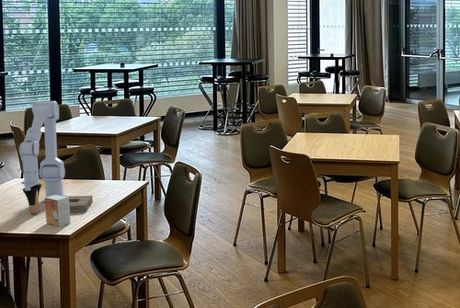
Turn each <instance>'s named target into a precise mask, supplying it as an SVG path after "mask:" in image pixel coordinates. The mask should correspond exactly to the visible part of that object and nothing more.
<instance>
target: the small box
mask: <svg viewBox="0 0 460 308" xmlns="http://www.w3.org/2000/svg"><path fill="white" fill-rule="evenodd" d="M44 200H45V202H44V209H45V220H46V221H45V222H46V224H48V225H53V226H55V225H56V226H55V227H58V226H60V227H63V226H66V224H67V225H69V224H71V213H70V208H69V197H63V196H59V195H53V196H49V197H46V196H45V197H44Z"/></svg>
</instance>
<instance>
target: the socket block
mask: <svg viewBox="0 0 460 308" xmlns="http://www.w3.org/2000/svg"><path fill="white" fill-rule="evenodd" d="M63 197H69V208H70V214H72V213H75V214H76V213H86V212H88V210H89V208H90V207H91V206H92V204H93V203H94V202H93V195H66V196H63Z"/></svg>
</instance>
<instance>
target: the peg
mask: <svg viewBox="0 0 460 308" xmlns="http://www.w3.org/2000/svg"><path fill="white" fill-rule="evenodd" d="M28 212H29V213H30V214H37V213H39V212H40V200H39V197H38V190H37V193H36V201H35V205H29V204H28Z"/></svg>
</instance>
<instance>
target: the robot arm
mask: <svg viewBox="0 0 460 308" xmlns="http://www.w3.org/2000/svg"><path fill="white" fill-rule="evenodd" d="M31 111H32V114H33V119H32V124H31V127H29V128H28V129H27V132H26V133H25V134H26V135H25V137H24V140H23V142H21V143H20V144H19V146H18V153H19V155H20V159H21V161H22V170H23V181H22V182H21V185H24V188H22V192H23V193H24V195H25V197H26V199H27V202H28V203H27V204H28V206H29V205H35V201H36V193H37V190H38V198H39V196H40V191H41V188H42V183H41V182H40V179H41V180H42V181H43V182H44V190H45V197H49V196H53V195H59V196H67V195H66V194H64V185H63V184H64V183H63V181H62V180H63V179H64V178H65V176H66V170H65V169H66V168H65V163H64V161H63V160H61V159H60V158H58V149H57V148H58V145H57V121H58V120H60V106H59V104H58V102H57V101H56V100H51V101H50V100H49V101H48V100H47V101H45V100H44V101H36V100H35V101H33V104H32V106H31ZM43 125H44V147H45V148H44V149H45V158H44V159H43V160H41V162H40V164H39V165H38V162H39V161H38V155H39V153H40V140H41V138H42V133H43V132H42V130H41V129H42V127H43ZM39 166H40V167H39ZM43 202H44V203H45V199H43Z"/></svg>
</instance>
